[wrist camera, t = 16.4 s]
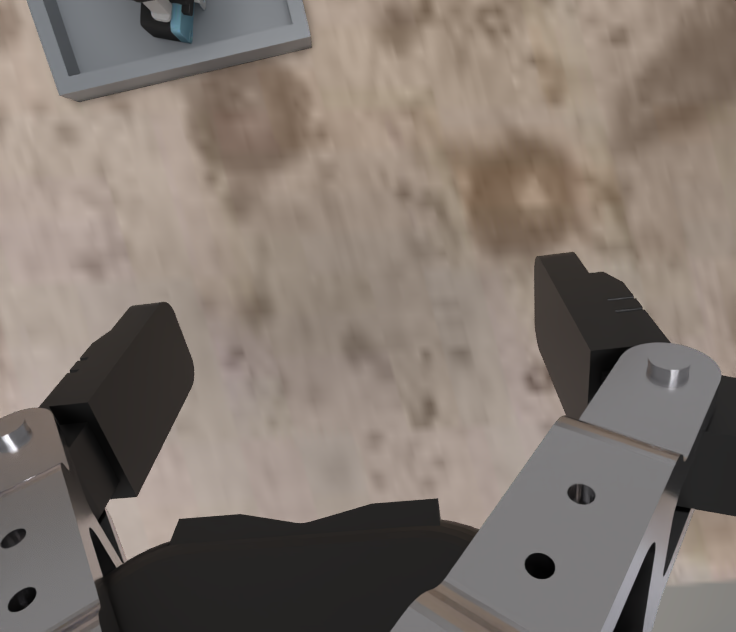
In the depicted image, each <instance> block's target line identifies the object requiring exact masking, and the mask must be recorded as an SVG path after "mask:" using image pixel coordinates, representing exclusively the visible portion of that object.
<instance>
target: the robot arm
mask: <svg viewBox="0 0 736 632" xmlns="http://www.w3.org/2000/svg"><path fill="white" fill-rule="evenodd" d="M534 296H535V332H536V338H537V343H538V347H539V350H540V353H541V355H542V358H543V360H544V363H545V365H546V367H547V370H548V372H549V375H550V377H551V380H552V382H553V385H554V387H555V389H556V392H557V394H558V397H559V399H560V402H561V404H562V406H563V409H564V411H565V414H566V416H562V417H560V418H559V419H558V420H557V421H556V422H555V424H554V425H553V426H552V428H551V429H550V431H549V432H548V433H547V435H546V436H545V438H544V439H543V440H542V442H541V443H540V445H539V446H538V448H537V449H536V450H535V452H534V453H533V455H532V456H531V457H530V459H529V460H528V462H527V463H526V465H525V466H524V467H523V469H522V470H521V472H520V473H519V474H518V476H517V477H516V479H515V480H514V482H513V483H512V484H511V486H510V487H509V489H508V490H507V491H506V493H505V494H504V496H503V497H502V499H501V500H500V501H499V503H498V504H497V506H496V507H495V509H494V510H493V511H492V513H491V514H490V516H489V517H488V518H487V520H486V521H485V523H484V524H483V526H482V527H481V528H480V530H479V529H476V528H474V527H471V526H468V525H464V524H461V523H457V522H453V521H447V520H441V518H440V510H439V503H438V499H426V500H413V501H400V502H388V503H375V504H369V505H366V506H363V507H359V508H356V509H352V510H349V511H345V512H342V513H339V514H335V515H332V516H328V517H325V518H322V519H318V520H315V521H311V522H307V523H293V522H287V521H280V520H274V519H268V518H261V517H255V516H249V515H242V514H237V515H224V516H212V517H199V518H186V519H179V521H178V523H177V526H176V528H175V531H174V533H173V536H172V538H171V541H170V542H166V543H163V544H161V545H158V546H156V547H153V548H151V549H149V550H147V551H145V552H143V553H141V554H139V555H137V556H135V557H133V558H131V559H130V560H128V561H127V558H126V556H125V553H124V550H123V547H122V545H121V542H120V539H119V537H118V534H117V531H116V528H115V526H114V523H113V520H112V518H111V516H110V514H109V513H108V511H107V509H106V505H107V503H108V502H109V500H110V499H117V498H129V497H137V496H138V494H139V492H140V490H141V488H142V486H143V484H144V482H145V480H146V478H147V476H148V474H149V472H150V470H151V468H152V466H153V464H154V462H155V460H156V458H157V456H158V454H159V452H160V450H161V448H162V446H163V444H164V442H165V440H166V438H167V436H168V434H169V432H170V430H171V428H172V426H173V424H174V422H175V420H176V418H177V416H178V414H179V412H180V410H181V408H182V406H183V404H184V402H185V400H186V398H187V396H188V394H189V392H190V390H191V388H192V385H193V381H194V365H193V360H192V357H191V355H190V352H189V350H188V347H187V344H186V342H185V339H184V336H183V334H182V331H181V329H180V326H179V323H178V321H177V318H176V315H175V313H174V311H173V309H172V307H171V306H170V305H169V304H168V303H167V302H159V303H151V304H143V305H135V306H131V307H130V308H129V309H128V310H127V311H126V312H125V314H124V315H123V316H122V317H121V319H120V320H119V321H118V322H117V323H116V325H115V326H114V327H113V328H112V330H111V331H109V332H108V333H106V334H105V335H104V336H102V337H101V338H99V339H98V340H96V341H95V342H94V343H92V344H91V346H90V347H89V348H88V349H87V350H86V352H85V353H84V354H83V355H82V356H81V358H80V361H77V362H76V363H75V365H74V366H73V367H72V368H71V369H70V373H67V374H66V375H65V377H64V378H63V379H62V380H61V381H60V383H59V384H58V385H57V386H56V387H55V388H54V390H53V391H52V392H51V393H50V394H49V396H48V397H47V398H46V399H45V400H44V402H43V403H42V404H41V405H40V406H39V408H29V409H24V410H20V411H17V412H14V413H12V414H9V415H7V416H5V417H3V418H0V632H652V629H653V625H654V622H655V618H656V614H657V610H658V607H659V603H660V600H661V597H662V594H663V591H664V589H665V586H666V584H667V581H668V578H669V576H670V573H671V570H672V568H673V565H674V563H675V560H676V557H677V555H678V552H679V549H680V547H681V544H682V542H683V539H684V536H685V534H686V531H687V528H688V526H689V523H690V521H691V518H692V515H693V513H694V510H695V509H697V510H703V511H709V512H714V513H720V514H726V515H731V516H736V378H732V377H727V376H722V375H721V371H720V368H719V366H718V365H717V364H716V362H715V361H714V360H712V359H711V358H710V357H709V356H707V355H705V354H704V353H702V352H700V351H698V350H696V349H693V348H690V347H687V346H683V345H679V344H673V343H670V341H669V340H668V339H667V337H666V336H665V335H664V334H663V332H662V331H661V330H660V329H659V327H658V326H657V325H656V323H655V322H654V321H653V320H652V318H651V317H650V316H649V315H648V313H647V312H646V311H645V310H643V308H642V306H641V304H640V303H639V302H638V301H637V299H636V298H635V299H634V296H633V294H632V293H631V292H630V291H629V289H628V288H627V287H626V285H625V284H624V283H623V282H622V281H620V280H618V279H616V278H614V277H612V276H610V275H608V274H606V273H605V272H596V273H589V272H588V271H587V270H586V268H585V267H584V265H583V264H582V262H581V261H580V260H579V258H578V257H577V255H576V254H575V253H574V252H568V253H560V254H552V255H544V256H537V257H536V259H535V265H534Z"/></svg>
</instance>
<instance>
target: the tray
mask: <svg viewBox="0 0 736 632" xmlns="http://www.w3.org/2000/svg"><path fill="white" fill-rule="evenodd" d="M203 1H204V0H203ZM27 3H28V6H29V9H30V12H31V14H32V17H33V20H34V23H35V26H36V29H37V32H38V35H39V38H40V41H41V43H42V46H43V49H44V52H45V55H46V58H47V61H48V64H49V67H50V70H51V72H52V75H53V78H54V81H55V84H56V87H57V90H58V93H59V95H60V96H63V97H66V98H69V99H72V100H75V101H78V102H81V101H86V100H90V99H94V98H98V97H103V96H107V95H111V94H115V93H120V92H124V91H128V90H133V89H137V88H141V87H145V86H150V85H154V84H158V83H162V82H167V81H171V80H175V79H179V78H184V77H188V76H192V75H196V74H201V73H205V72H209V71H213V70H218V69H222V68H226V67H231V66H235V65H239V64H243V63H248V62H252V61H256V60H260V59H265V58H269V57H273V56H277V55H282V54H286V53H290V52H294V51H299V50H303V49H307V48H312V44H311V35H310V31H309V27H308V22H307V18H306V14H305V10H304V5H303V1H302V0H206V8H205V10H203V9H202V7H201V6H200V3H196V2H195V5H194V18H193V39H192V43H185V42H179V41H174V40H168V39H162V38H156V37H153V36H152V35H151V34H149V33H148V32H147V31H146V30H145V29H144V28H143V27H142V26H141V24H140V11H141V3H138V2H135V1H133V0H27Z"/></svg>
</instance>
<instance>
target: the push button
mask: <svg viewBox="0 0 736 632" xmlns="http://www.w3.org/2000/svg"><path fill="white" fill-rule="evenodd" d="M133 1H135V2H138V3H141V11H140V24H141V26H142V27H143V28H144V29H145V30H146V31H147V32H148V33H149V34H151V35H152V36H153V37H156V38H162V39H168V40H174V41H179V42H185V43H192V39H193V18H194V5H195V2H196V3H200V6H201V7H202V9H203V10H205V8H206V0H204V1H203V0H133Z"/></svg>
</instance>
